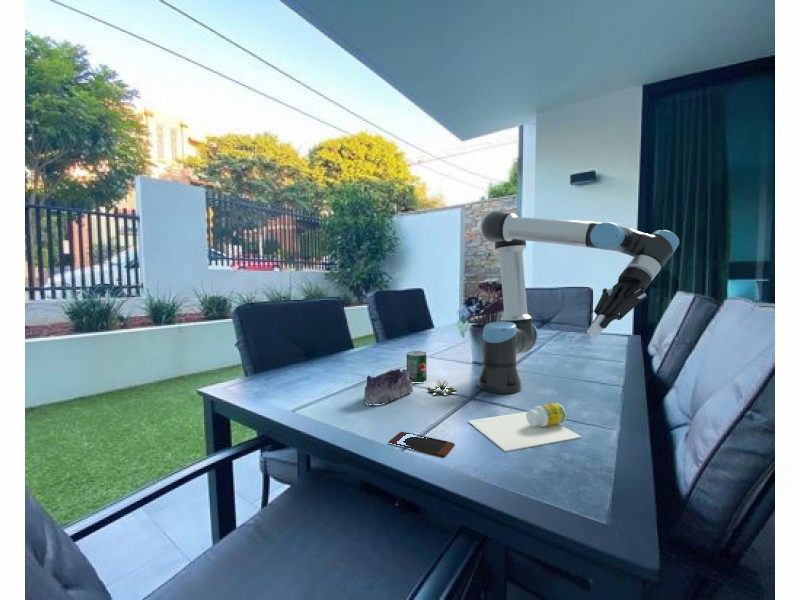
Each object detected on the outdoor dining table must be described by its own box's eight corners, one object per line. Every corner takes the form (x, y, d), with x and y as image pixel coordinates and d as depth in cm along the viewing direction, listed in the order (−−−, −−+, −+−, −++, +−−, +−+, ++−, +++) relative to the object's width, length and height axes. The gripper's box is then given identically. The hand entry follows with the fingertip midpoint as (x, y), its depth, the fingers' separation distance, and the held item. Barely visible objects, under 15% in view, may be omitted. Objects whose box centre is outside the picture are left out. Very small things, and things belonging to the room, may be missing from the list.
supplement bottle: (549, 414, 100) (522, 419, 96) (554, 398, 98) (526, 403, 94) (563, 427, 95) (535, 433, 91) (569, 411, 93) (540, 416, 90)
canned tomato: (427, 383, 134) (427, 355, 133) (406, 384, 134) (406, 355, 133) (426, 377, 142) (425, 350, 141) (406, 378, 142) (406, 351, 141)
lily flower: (453, 386, 132) (453, 374, 131) (463, 397, 120) (463, 384, 120) (421, 388, 130) (421, 376, 130) (429, 399, 118) (429, 386, 118)
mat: (505, 451, 81) (505, 450, 81) (467, 421, 98) (467, 420, 98) (581, 437, 88) (581, 436, 88) (533, 411, 105) (533, 410, 105)
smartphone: (400, 430, 92) (455, 442, 85) (400, 434, 92) (455, 446, 85) (387, 441, 86) (444, 455, 79) (387, 445, 86) (444, 459, 79)
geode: (385, 411, 108) (380, 379, 107) (357, 408, 114) (352, 378, 114) (419, 390, 124) (415, 362, 124) (393, 389, 131) (389, 362, 131)
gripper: (667, 284, 97) (619, 348, 93) (624, 283, 109) (580, 339, 105) (654, 264, 95) (603, 329, 91) (612, 266, 107) (566, 323, 104)
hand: (591, 334), depth 98 cm, fingers closed
